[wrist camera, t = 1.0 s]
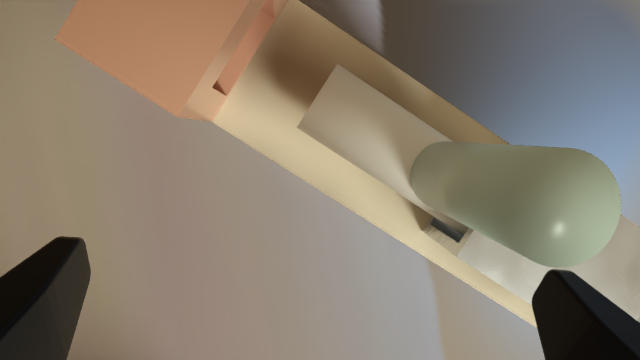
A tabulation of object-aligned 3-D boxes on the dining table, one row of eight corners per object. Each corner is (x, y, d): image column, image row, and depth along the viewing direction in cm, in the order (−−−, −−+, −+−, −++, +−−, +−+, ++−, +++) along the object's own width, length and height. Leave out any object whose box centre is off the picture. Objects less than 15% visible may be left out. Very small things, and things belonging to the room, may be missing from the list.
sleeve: (547, 311, 25) (612, 356, 20) (421, 230, 24) (456, 256, 19) (601, 231, 24) (682, 256, 19) (476, 146, 23) (527, 150, 18)
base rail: (548, 333, 26) (558, 341, 25) (135, 71, 23) (128, 68, 22) (622, 226, 25) (635, 229, 24) (212, -53, 23) (208, -62, 22)
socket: (212, 121, 22) (177, 116, 16) (128, 68, 22) (54, 39, 15) (291, -5, 22) (292, -68, 15) (208, -62, 22) (170, -153, 15)
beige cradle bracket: (551, 293, 24) (802, 447, 12) (296, 128, 22) (303, 122, 10) (588, 239, 23) (878, 343, 12) (333, 69, 22) (383, -3, 10)
